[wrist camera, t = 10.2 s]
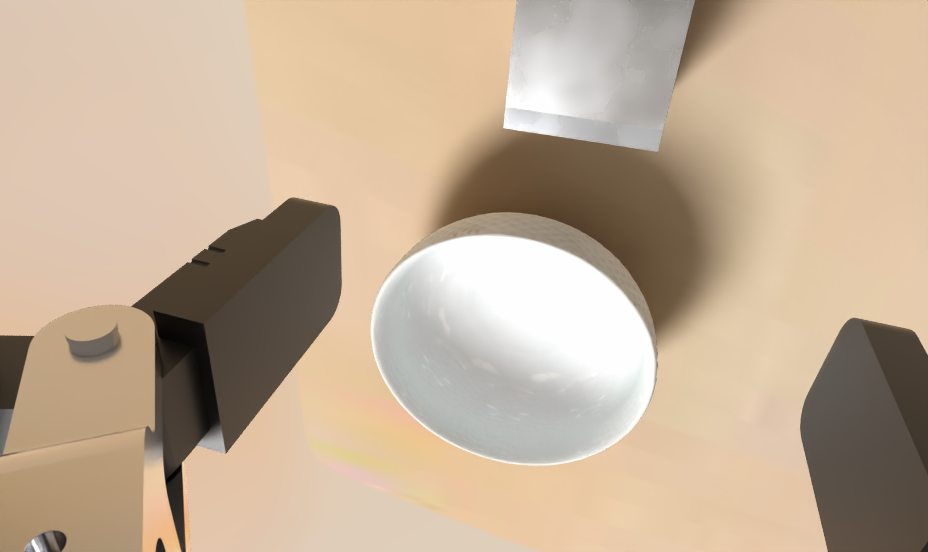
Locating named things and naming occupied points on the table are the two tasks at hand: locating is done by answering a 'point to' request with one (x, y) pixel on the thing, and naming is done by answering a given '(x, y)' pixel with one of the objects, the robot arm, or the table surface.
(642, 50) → the sleeve
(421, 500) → the table surface
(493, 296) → the cereal bowl
